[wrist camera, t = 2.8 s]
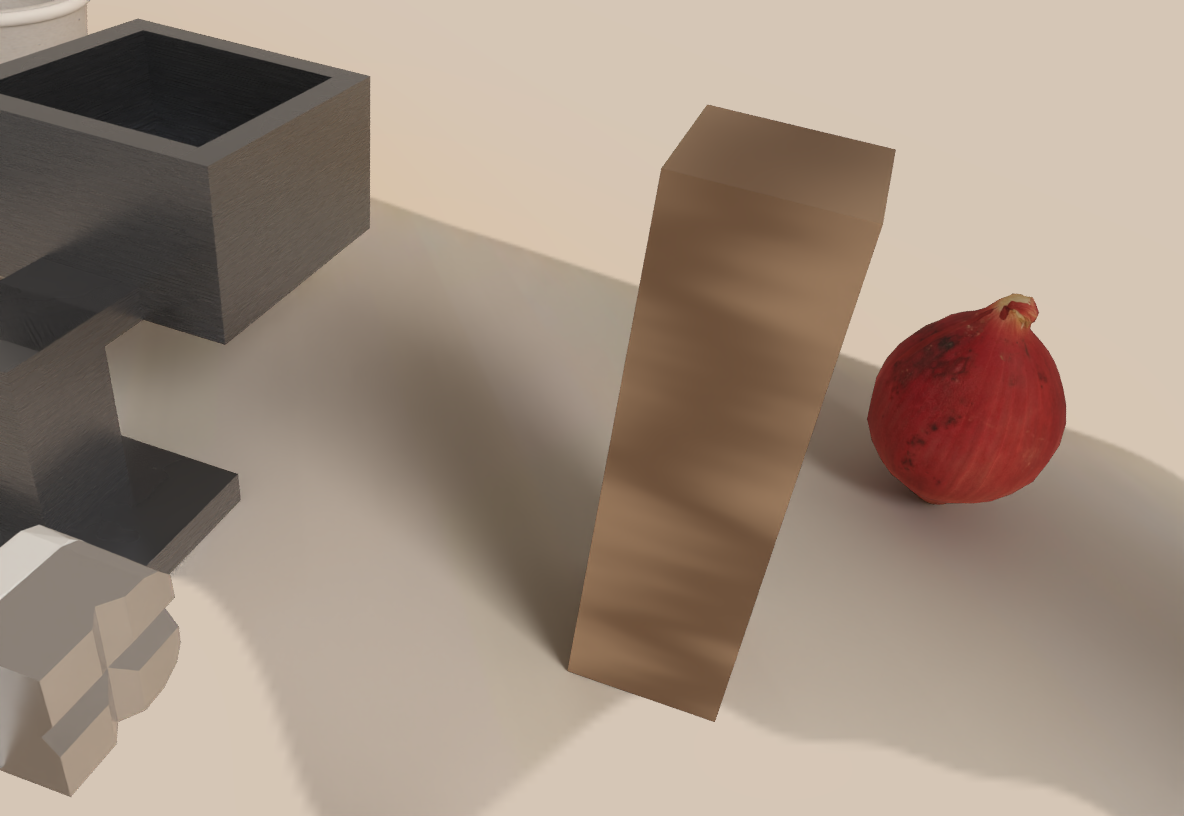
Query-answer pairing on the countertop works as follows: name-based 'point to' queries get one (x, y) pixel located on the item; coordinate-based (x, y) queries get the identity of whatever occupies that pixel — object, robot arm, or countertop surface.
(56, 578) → the robot arm
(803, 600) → the countertop surface
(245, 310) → the box
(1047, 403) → the onion
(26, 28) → the dixie cup
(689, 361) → the rail post
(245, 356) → the countertop surface
